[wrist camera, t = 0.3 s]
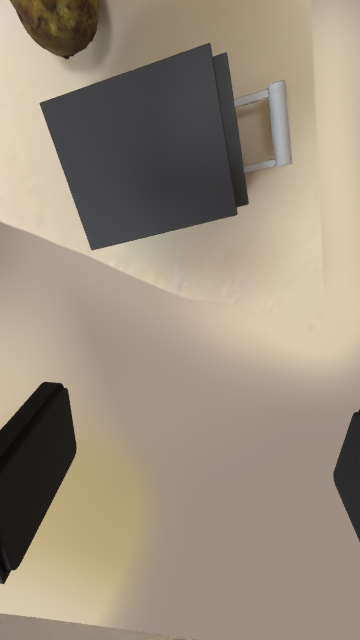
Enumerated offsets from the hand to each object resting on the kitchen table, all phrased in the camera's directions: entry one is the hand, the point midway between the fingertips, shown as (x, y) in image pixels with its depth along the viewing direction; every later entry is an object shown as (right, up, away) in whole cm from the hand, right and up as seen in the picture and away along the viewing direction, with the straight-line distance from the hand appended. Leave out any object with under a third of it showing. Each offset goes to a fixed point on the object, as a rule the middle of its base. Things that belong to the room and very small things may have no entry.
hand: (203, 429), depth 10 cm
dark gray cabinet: (-3, +21, +24) cm, 32 cm away
